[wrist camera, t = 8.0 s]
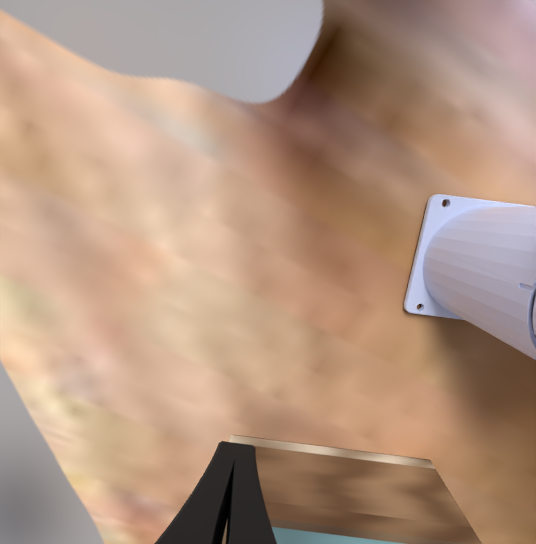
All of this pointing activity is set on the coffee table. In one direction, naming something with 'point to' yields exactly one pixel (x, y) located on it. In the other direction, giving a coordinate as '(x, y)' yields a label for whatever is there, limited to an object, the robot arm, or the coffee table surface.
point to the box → (356, 494)
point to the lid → (318, 538)
